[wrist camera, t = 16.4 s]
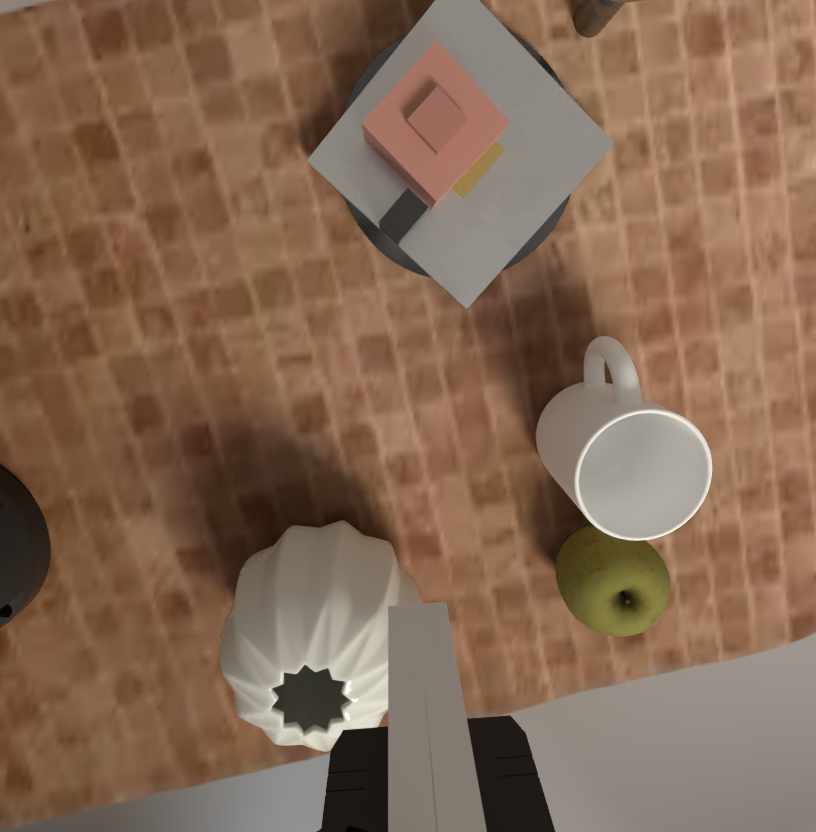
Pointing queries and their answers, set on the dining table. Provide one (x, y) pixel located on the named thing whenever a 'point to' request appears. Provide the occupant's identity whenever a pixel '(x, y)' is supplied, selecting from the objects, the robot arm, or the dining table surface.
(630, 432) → the mug
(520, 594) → the dining table surface
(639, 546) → the apple
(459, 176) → the cover
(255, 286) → the dining table surface
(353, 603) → the vase
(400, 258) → the turntable base
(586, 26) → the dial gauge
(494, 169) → the turntable
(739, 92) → the dining table surface
